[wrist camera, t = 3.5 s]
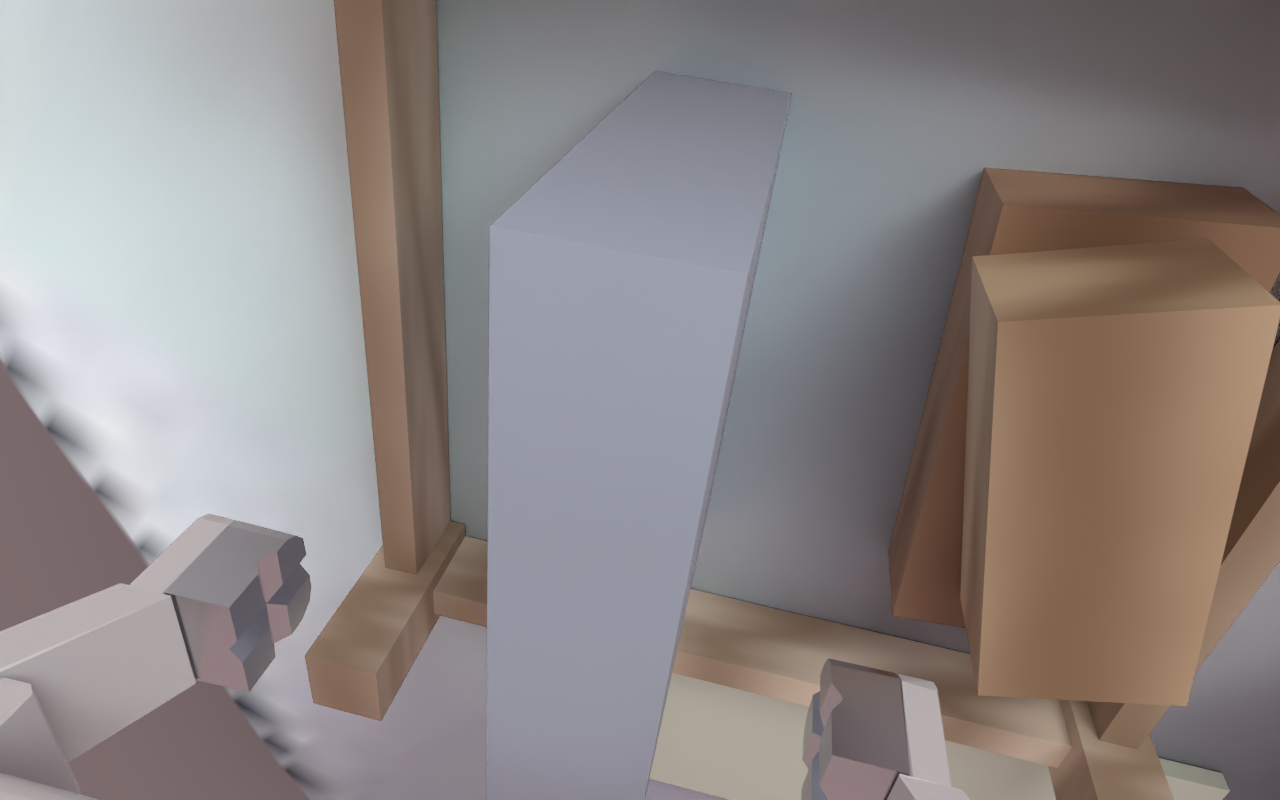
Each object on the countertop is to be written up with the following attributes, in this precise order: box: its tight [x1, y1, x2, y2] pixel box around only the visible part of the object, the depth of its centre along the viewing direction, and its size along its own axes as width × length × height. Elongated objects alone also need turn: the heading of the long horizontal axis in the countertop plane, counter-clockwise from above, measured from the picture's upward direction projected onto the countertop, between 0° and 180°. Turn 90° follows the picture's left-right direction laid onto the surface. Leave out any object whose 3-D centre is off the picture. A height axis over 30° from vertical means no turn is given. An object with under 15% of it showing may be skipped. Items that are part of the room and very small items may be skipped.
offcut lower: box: [888, 168, 1280, 628], centre depth 19 cm, size 5×11×3 cm, turn 178°
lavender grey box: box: [486, 71, 792, 800], centre depth 16 cm, size 3×12×10 cm, turn 173°
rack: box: [305, 0, 1280, 800], centre depth 18 cm, size 22×21×6 cm
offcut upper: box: [960, 238, 1280, 706], centre depth 16 cm, size 4×9×3 cm, turn 9°
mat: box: [649, 673, 1230, 800], centre depth 27 cm, size 19×7×1 cm, turn 83°
